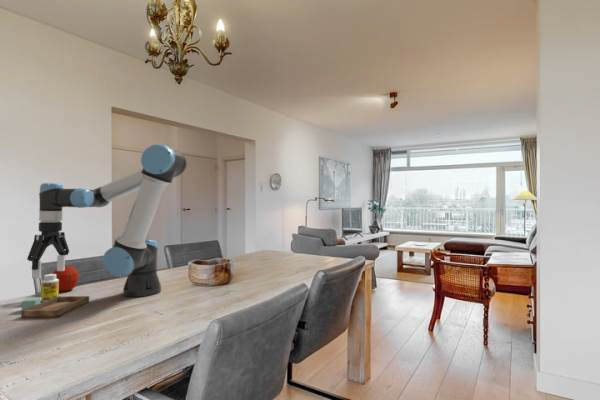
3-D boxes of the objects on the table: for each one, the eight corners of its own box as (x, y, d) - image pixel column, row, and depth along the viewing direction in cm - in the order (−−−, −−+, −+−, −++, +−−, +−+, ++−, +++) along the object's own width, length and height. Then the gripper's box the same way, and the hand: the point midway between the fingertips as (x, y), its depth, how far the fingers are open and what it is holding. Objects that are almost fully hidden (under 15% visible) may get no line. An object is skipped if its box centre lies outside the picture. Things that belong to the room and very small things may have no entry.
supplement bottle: (40, 303, 132) (40, 276, 132) (41, 299, 136) (42, 274, 136) (58, 300, 135) (58, 275, 135) (58, 297, 139) (59, 272, 140)
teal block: (40, 308, 126) (40, 297, 126) (35, 311, 122) (35, 300, 122) (27, 309, 124) (27, 298, 125) (21, 312, 121) (22, 301, 121)
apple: (48, 294, 144) (48, 267, 144) (53, 289, 153) (53, 264, 153) (76, 292, 148) (77, 265, 148) (79, 287, 157) (79, 262, 157)
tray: (89, 302, 133) (89, 296, 133) (57, 317, 115) (57, 310, 115) (57, 302, 132) (58, 296, 132) (21, 318, 114) (21, 310, 114)
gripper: (62, 219, 148) (60, 268, 148) (15, 223, 123) (14, 281, 123) (79, 220, 149) (78, 268, 148) (36, 223, 124) (35, 281, 123)
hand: (49, 274), depth 136 cm, fingers open, 13 cm apart
